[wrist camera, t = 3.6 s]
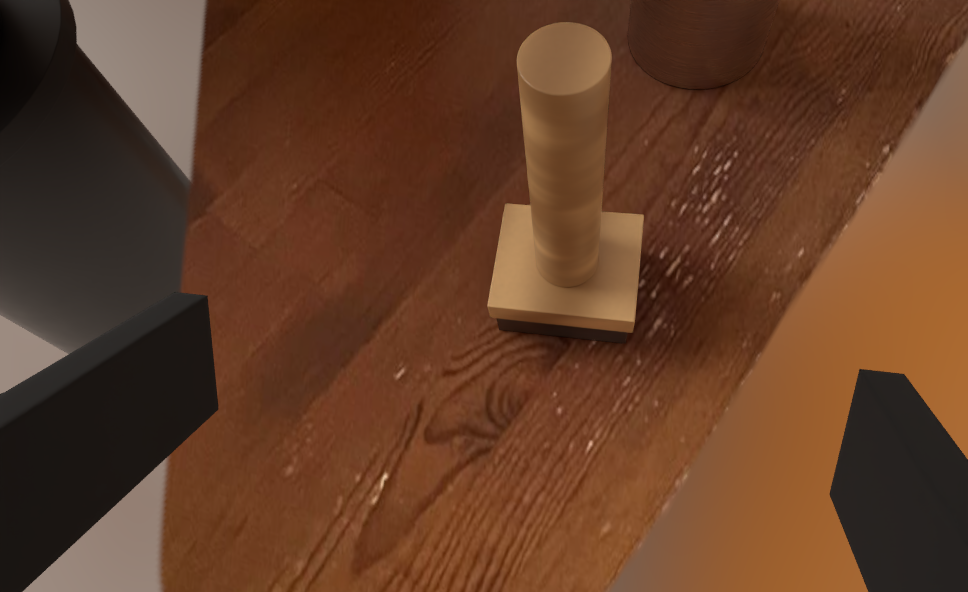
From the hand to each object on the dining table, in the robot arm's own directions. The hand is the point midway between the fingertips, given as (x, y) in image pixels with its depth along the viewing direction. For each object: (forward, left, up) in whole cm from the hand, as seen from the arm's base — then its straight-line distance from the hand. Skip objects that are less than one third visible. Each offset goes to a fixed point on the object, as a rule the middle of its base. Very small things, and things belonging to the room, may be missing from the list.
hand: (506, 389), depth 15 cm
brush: (-4, +9, -16) cm, 19 cm away
